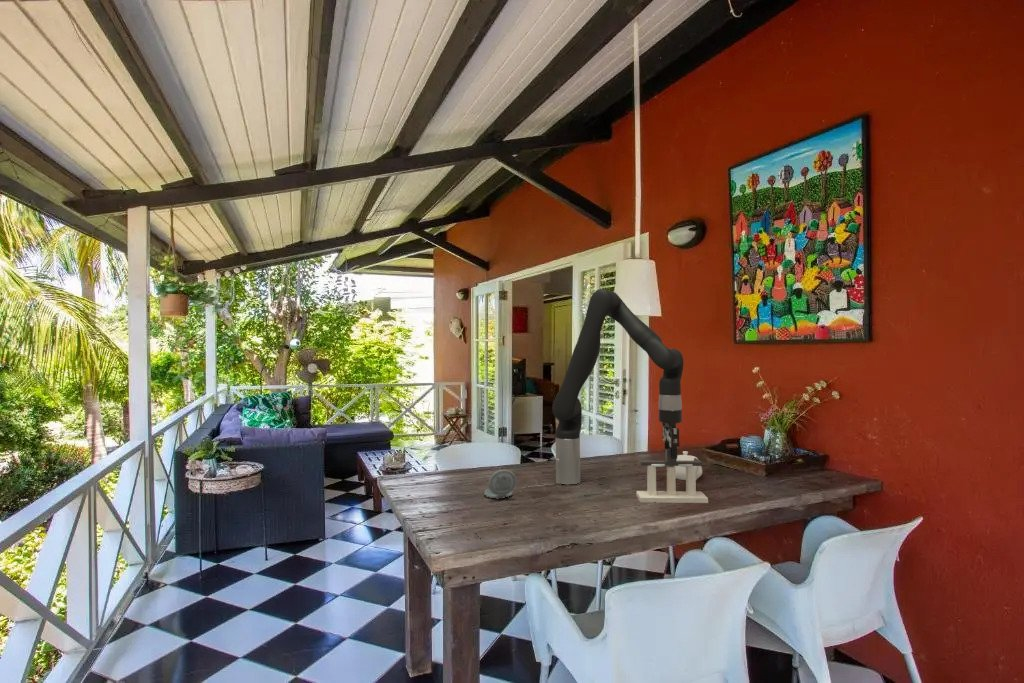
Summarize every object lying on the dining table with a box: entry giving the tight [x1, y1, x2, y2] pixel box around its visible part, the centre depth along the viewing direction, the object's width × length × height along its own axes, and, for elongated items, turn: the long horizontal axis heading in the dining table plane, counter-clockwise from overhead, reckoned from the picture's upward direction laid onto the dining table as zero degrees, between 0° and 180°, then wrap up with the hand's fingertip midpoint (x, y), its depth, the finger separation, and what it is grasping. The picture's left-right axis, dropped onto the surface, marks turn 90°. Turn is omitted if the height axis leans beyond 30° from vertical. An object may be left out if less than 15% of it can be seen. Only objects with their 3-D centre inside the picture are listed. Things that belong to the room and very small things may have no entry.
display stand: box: [635, 466, 709, 504], centre depth 178 cm, size 22×8×12 cm, turn 86°
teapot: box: [675, 450, 703, 481], centre depth 205 cm, size 20×12×10 cm, turn 12°
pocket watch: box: [483, 469, 517, 498], centre depth 185 cm, size 10×11×15 cm
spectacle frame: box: [637, 449, 703, 468], centre depth 180 cm, size 20×9×5 cm, turn 86°
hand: (670, 455), depth 178 cm, fingers open, 8 cm apart
